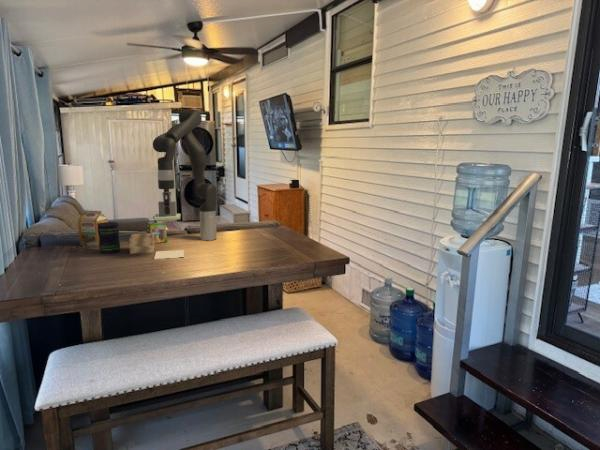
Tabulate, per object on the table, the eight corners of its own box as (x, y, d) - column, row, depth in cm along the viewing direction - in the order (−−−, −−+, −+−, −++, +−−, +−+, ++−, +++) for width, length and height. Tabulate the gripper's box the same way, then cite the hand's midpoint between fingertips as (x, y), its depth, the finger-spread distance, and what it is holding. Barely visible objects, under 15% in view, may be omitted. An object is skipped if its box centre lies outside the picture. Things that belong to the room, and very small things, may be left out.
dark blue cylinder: (112, 255, 202) (110, 226, 200) (95, 253, 204) (92, 225, 201) (124, 250, 212) (122, 222, 209) (108, 249, 214) (105, 221, 211)
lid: (180, 217, 208) (179, 200, 206) (180, 221, 196) (179, 203, 195) (156, 218, 204) (155, 200, 203) (154, 222, 193) (153, 203, 191)
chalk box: (167, 242, 231) (166, 217, 228) (150, 244, 226) (149, 218, 223) (163, 239, 238) (162, 214, 235) (147, 240, 233) (145, 215, 231)
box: (154, 247, 218) (153, 233, 216) (152, 252, 207) (152, 237, 206) (132, 248, 215) (131, 234, 213) (130, 254, 204) (129, 238, 203)
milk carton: (109, 242, 229) (106, 209, 225) (98, 246, 218) (95, 212, 215) (91, 241, 230) (89, 208, 226) (80, 246, 219) (77, 211, 216)
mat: (184, 250, 212) (184, 250, 212) (184, 257, 199) (183, 256, 199) (156, 252, 209) (156, 251, 209) (154, 259, 195) (154, 258, 195)
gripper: (173, 180, 191) (175, 215, 194) (174, 177, 204) (175, 211, 208) (156, 180, 189) (158, 216, 192) (158, 178, 202) (160, 211, 206)
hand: (167, 213), depth 200 cm, fingers closed on lid, 3 cm apart
